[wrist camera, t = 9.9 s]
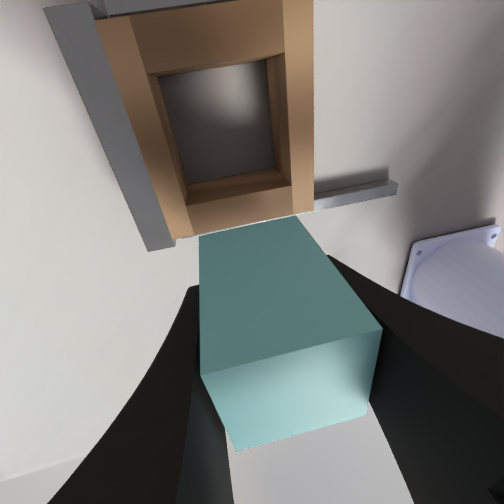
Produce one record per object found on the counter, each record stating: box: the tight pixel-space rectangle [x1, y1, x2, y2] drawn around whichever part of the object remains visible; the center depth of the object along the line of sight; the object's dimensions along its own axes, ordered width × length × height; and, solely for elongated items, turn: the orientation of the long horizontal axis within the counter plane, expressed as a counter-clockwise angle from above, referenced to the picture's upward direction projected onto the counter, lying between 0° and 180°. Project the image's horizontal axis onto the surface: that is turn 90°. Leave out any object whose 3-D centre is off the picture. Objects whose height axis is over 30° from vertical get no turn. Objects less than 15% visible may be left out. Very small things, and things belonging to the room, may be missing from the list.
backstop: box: [43, 0, 398, 252], centre depth 14 cm, size 12×16×4 cm
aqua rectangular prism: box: [199, 215, 383, 452], centre depth 9 cm, size 4×4×6 cm
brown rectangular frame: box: [94, 0, 314, 240], centre depth 13 cm, size 9×8×4 cm
